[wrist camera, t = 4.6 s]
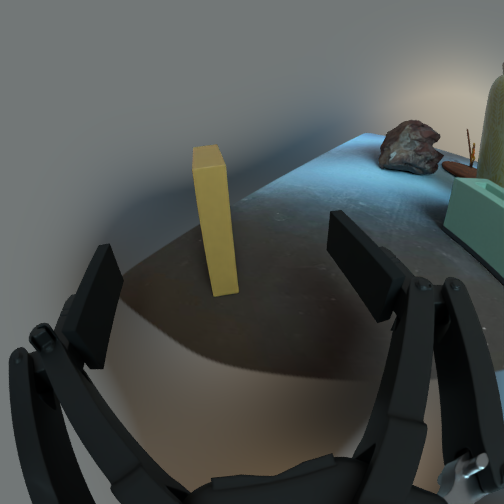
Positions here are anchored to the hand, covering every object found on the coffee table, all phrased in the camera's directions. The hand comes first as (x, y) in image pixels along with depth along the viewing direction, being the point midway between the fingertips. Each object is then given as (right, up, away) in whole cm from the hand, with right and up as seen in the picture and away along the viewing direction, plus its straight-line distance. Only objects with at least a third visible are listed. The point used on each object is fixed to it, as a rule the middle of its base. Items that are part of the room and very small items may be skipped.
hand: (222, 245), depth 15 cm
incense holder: (+61, +21, +36) cm, 74 cm away
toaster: (+31, 0, +7) cm, 32 cm away
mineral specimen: (+34, +16, +32) cm, 49 cm away
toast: (-1, -2, +8) cm, 8 cm away
